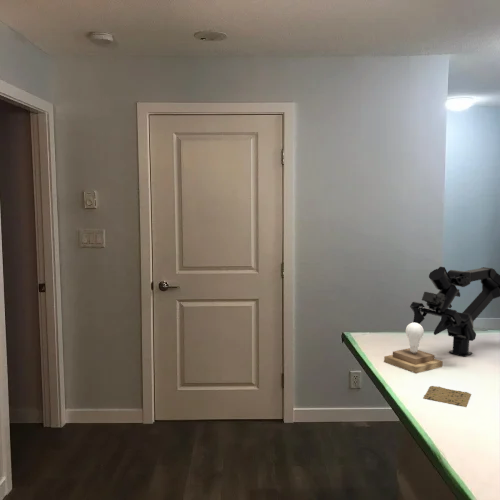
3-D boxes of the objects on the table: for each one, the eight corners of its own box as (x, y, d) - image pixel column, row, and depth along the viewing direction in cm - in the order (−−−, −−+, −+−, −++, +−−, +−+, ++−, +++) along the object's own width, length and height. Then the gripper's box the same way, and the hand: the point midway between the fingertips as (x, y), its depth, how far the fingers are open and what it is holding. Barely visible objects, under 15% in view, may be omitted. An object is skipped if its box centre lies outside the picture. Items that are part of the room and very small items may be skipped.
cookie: (467, 409, 141) (467, 405, 141) (422, 399, 147) (422, 396, 147) (472, 395, 151) (472, 392, 151) (430, 387, 157) (430, 384, 157)
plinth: (410, 356, 188) (410, 345, 188) (442, 366, 176) (443, 355, 176) (384, 361, 181) (384, 350, 180) (416, 373, 169) (416, 361, 168)
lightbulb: (426, 353, 178) (427, 322, 177) (417, 356, 174) (418, 325, 173) (410, 349, 182) (411, 319, 181) (401, 353, 178) (402, 322, 177)
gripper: (414, 280, 189) (392, 312, 184) (458, 287, 174) (436, 322, 169) (426, 299, 194) (406, 330, 189) (470, 307, 179) (449, 342, 174)
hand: (423, 331), depth 180 cm, fingers open, 9 cm apart
